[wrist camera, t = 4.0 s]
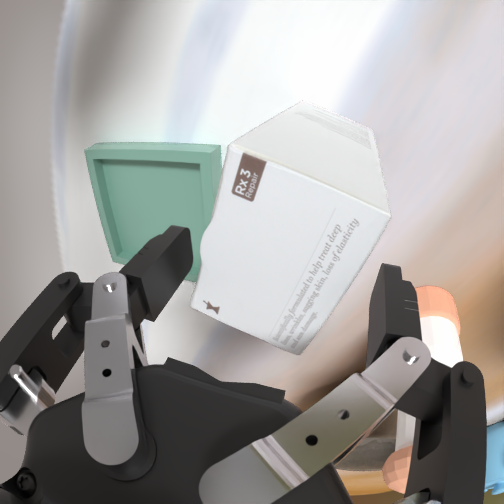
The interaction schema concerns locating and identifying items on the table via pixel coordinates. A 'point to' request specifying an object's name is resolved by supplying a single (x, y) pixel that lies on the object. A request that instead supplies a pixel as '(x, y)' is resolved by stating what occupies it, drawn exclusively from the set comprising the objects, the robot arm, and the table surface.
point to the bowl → (373, 448)
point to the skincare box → (291, 225)
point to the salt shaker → (442, 350)
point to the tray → (153, 192)
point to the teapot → (495, 458)
